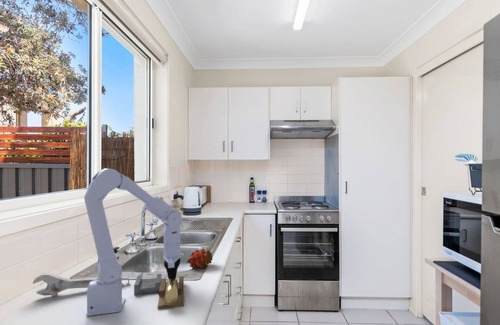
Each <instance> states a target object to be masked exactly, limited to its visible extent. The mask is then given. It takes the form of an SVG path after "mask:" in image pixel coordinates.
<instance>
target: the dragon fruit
mask: <svg viewBox="0 0 500 325" xmlns="http://www.w3.org/2000/svg"><path fill="white" fill-rule="evenodd" d="M213 256H214V254H213V253H212V252H211V251H210V250H209V249H208V250H207V249H204V248H203V247H202V249H196V250H195V251H194V252H192V253H191V254H190V257H189V258H188V259H187V261H186V264H189V267H190V268H193V269H194V268H195V267H198V268H200V269H201V268H202V269H204V268H207V266H208V265H209V264H212V261H213ZM195 269H196V268H195Z"/></svg>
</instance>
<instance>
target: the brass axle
mask: <svg viewBox="0 0 500 325" xmlns="http://www.w3.org/2000/svg"><path fill="white" fill-rule="evenodd" d="M178 282H179V280H178V279H177V277H176V278H169V279H166V290H165V304H166V305H168V306H173V305H175V304H176V303H177V301H178Z"/></svg>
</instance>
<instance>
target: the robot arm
mask: <svg viewBox="0 0 500 325" xmlns="http://www.w3.org/2000/svg"><path fill="white" fill-rule="evenodd" d="M115 189H118V190H120V191H121V190H123V191H126V192H128V193H130V194H131V195H133V197H135V198H137V199H139V200H140V201H142V203H144V204H145V206H144V207H145V210H146V211H148V212H149V213H151V214H152V215H154V216H155V217H156V218H158V219H159V220H161V222H162V223H163V256H162V257H163V260H164V261H163V266H164V268H165V270H166V273H167V278H168V279H169V278H176V279H177V272H178V269H179V267H180V264H181V258H182V257H184V256H185V254H184V253H183V252H181V224H182V222H183V219H184V218H183V217H182V213H181V212H180V211H178V210H176V209H174V205H172V204H169V203H167V202H166V201H165V200H164V197H162V196H158V195H151V194H149V193H148V192H147V191H146V190H145V189H143V188H142V187H141V186H140V185H138V184H137V183H136V182H135V181H134V180H132V178H129V177H128V176H127V175H124V174H122V173H120V171H118V170H116V169H113V168H102V169H100V170H99V171H98V172H97V173H96V174H95V175H93V176H92V178H91V181H90V183H89V186H88V187H87V190H86V191H85V194H84V199H83V200H84V204H85V208H86V211H87V215H88V220H89V225H90V228H91V232H92V237H93V242H94V245H95V249H96V254H97V263H96V270H97V271H98V276H97V277H96V278H97V279H96V280H94V281H91V282H90V283H89V285H88V288H87V289H86V290H87V292H86V316H87V317H88V316H89V317H90V316H96V315H105V314H111V313H114V314H115V313H119V312H121V311H122V309H123V306H124V304H125V301H126V298H125V297H123V286H122V283H123V280H122V277H123V276H122V275H123V268H122V265H121V264H120V262H119V260H118V258H117V256H116V254H115V250H114V246H113V242H112V238H111V233H110V229H109V225H108V220H107V216H106V212H105V207H104V204H103V201H104V200H105V198H106V197H107V196H108V194H109V193H110V192H112V191H113V190H115ZM168 279H167V280H168Z"/></svg>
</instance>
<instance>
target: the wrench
mask: <svg viewBox="0 0 500 325" xmlns="http://www.w3.org/2000/svg"><path fill="white" fill-rule="evenodd" d="M97 278H98V277H92V278H91V277H90V278H88V277H87V278H73V279H72V278H71V279H70V278H66V277H61V276H58V275H56V274H53V273H51V272H45V273H41V274H39V275H37V277H35V278H34V280H33V281H32V284H36V283H40V282H42V281H43V282H44V283H45V284H46V287H44V288H41V289H38V290H37V291H35V293H36V294H37V295H40V296H45V297H46V296H50V298H54V297H58V295H59V293H61V292H63V291H66V290H70V289H88V285H89V283H90V282H91V281H94V280H96V279H97ZM124 280H127V282H126V283H123V282H122V287H124V286H128V285H129V283H130V278H129V277H128V276H122V281H124Z"/></svg>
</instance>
